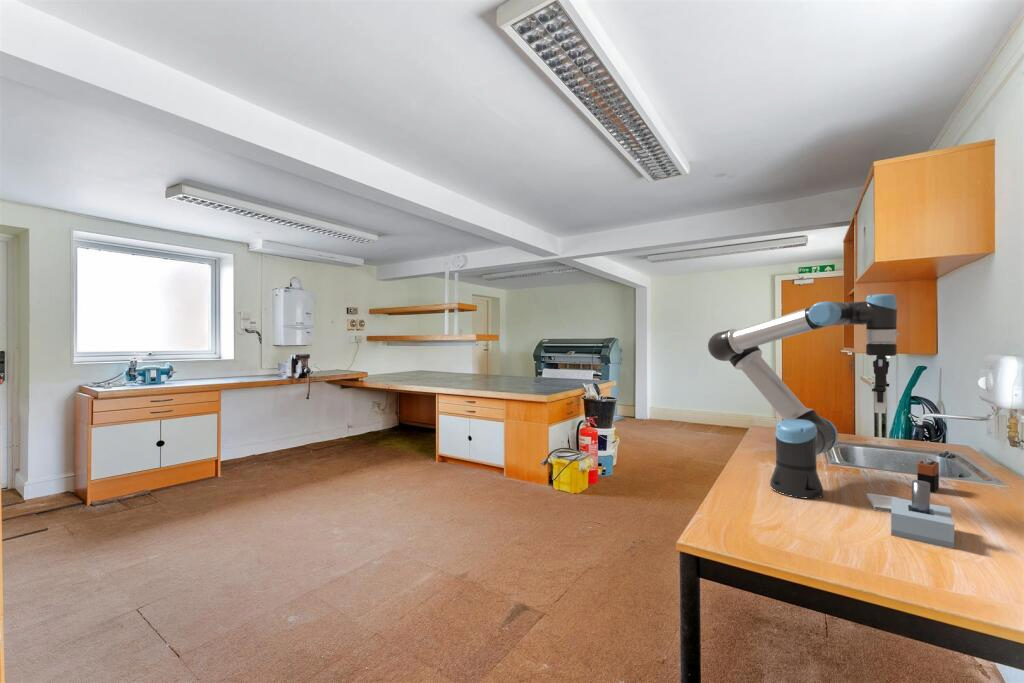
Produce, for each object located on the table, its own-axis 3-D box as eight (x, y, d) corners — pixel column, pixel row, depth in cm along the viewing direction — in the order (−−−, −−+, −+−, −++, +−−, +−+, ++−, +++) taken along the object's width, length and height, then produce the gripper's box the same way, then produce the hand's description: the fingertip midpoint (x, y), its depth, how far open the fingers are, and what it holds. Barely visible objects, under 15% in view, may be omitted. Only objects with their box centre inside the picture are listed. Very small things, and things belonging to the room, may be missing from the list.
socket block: (891, 535, 120) (891, 512, 120) (891, 517, 131) (891, 497, 131) (954, 548, 112) (954, 524, 112) (949, 529, 123) (949, 507, 123)
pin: (911, 527, 121) (912, 482, 121) (911, 522, 124) (911, 479, 124) (930, 530, 119) (930, 485, 119) (929, 525, 122) (929, 481, 121)
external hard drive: (874, 511, 137) (866, 497, 147) (909, 516, 133) (898, 501, 143) (874, 506, 136) (866, 492, 147) (909, 511, 132) (898, 496, 143)
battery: (916, 489, 152) (917, 460, 152) (922, 485, 156) (922, 456, 156) (934, 493, 149) (934, 463, 148) (939, 488, 153) (939, 459, 152)
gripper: (896, 344, 132) (895, 417, 132) (896, 341, 150) (896, 405, 151) (863, 344, 136) (863, 414, 137) (868, 341, 155) (867, 403, 156)
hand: (880, 409), depth 144 cm, fingers open, 13 cm apart
